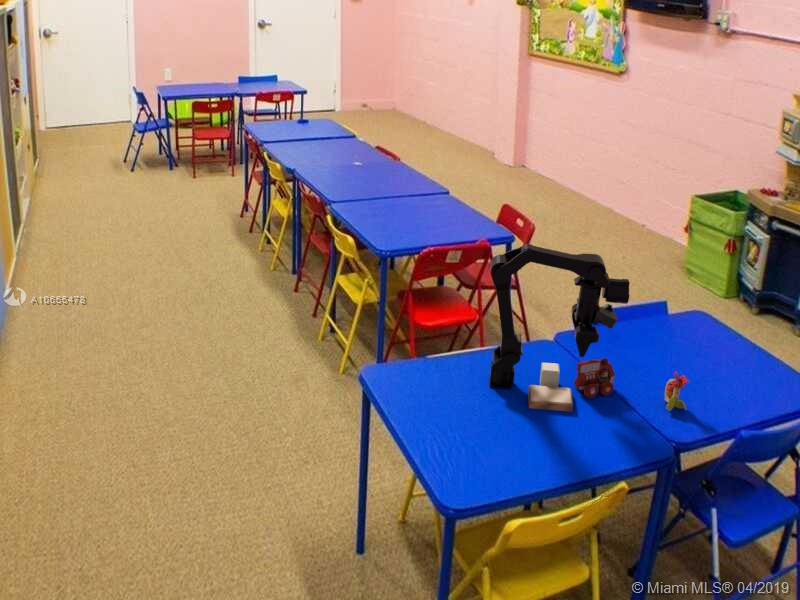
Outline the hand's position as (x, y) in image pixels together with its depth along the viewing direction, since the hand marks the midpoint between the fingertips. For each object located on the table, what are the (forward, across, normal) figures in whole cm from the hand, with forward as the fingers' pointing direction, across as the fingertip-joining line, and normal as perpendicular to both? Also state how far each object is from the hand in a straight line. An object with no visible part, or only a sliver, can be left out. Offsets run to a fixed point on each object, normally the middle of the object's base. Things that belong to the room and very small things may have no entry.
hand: (580, 349), depth 241 cm
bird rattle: (+12, -5, -27) cm, 30 cm away
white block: (+13, +1, +7) cm, 15 cm away
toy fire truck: (+13, 0, -6) cm, 14 cm away
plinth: (+13, -8, +7) cm, 17 cm away
